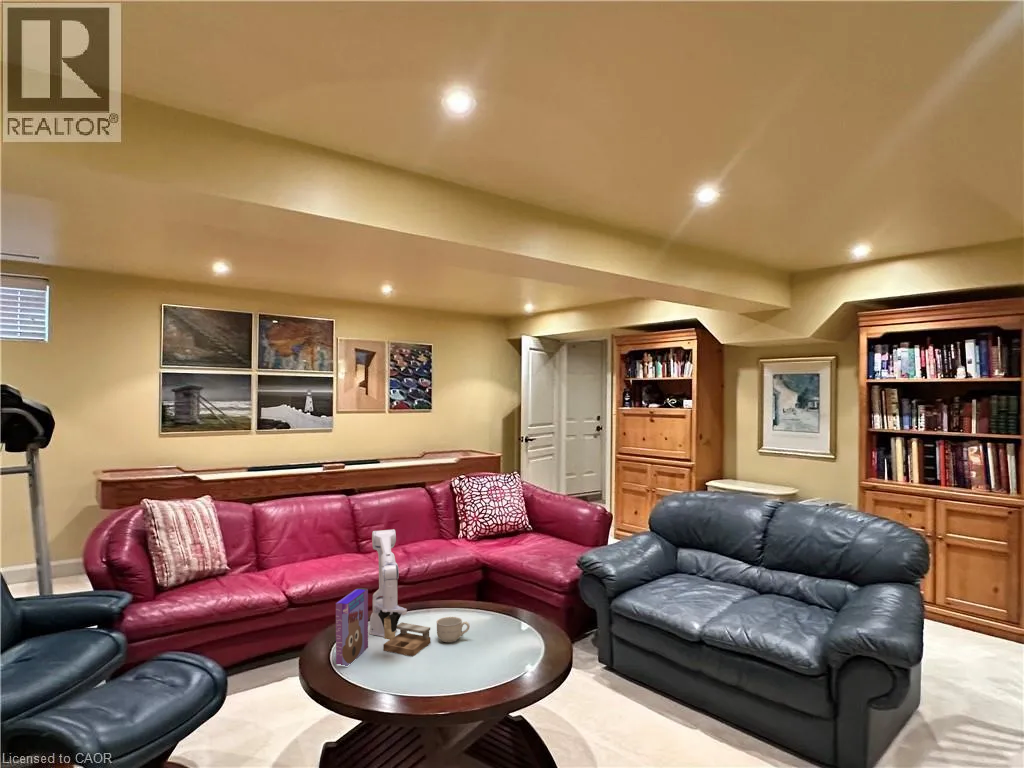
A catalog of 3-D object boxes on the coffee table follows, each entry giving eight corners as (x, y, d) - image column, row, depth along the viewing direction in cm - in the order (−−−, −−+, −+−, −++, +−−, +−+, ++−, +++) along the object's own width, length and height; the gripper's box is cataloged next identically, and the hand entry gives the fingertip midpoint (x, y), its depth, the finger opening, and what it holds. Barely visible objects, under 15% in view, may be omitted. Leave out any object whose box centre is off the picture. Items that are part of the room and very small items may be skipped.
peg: (384, 638, 226) (384, 618, 226) (389, 635, 229) (388, 615, 229) (390, 639, 225) (390, 619, 225) (395, 636, 228) (394, 616, 228)
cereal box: (347, 667, 217) (347, 603, 218) (336, 666, 218) (335, 602, 219) (368, 647, 234) (367, 588, 235) (357, 646, 235) (357, 587, 236)
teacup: (432, 643, 238) (432, 623, 238) (443, 632, 248) (443, 614, 248) (463, 647, 233) (462, 627, 234) (473, 636, 244) (473, 617, 244)
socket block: (383, 650, 231) (383, 634, 231) (402, 637, 243) (401, 622, 243) (412, 656, 226) (412, 639, 226) (430, 643, 238) (430, 627, 238)
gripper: (368, 596, 227) (368, 631, 226) (399, 601, 221) (399, 637, 220) (379, 590, 233) (379, 624, 233) (409, 595, 227) (410, 630, 227)
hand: (390, 630), depth 227 cm, fingers closed on peg, 3 cm apart
